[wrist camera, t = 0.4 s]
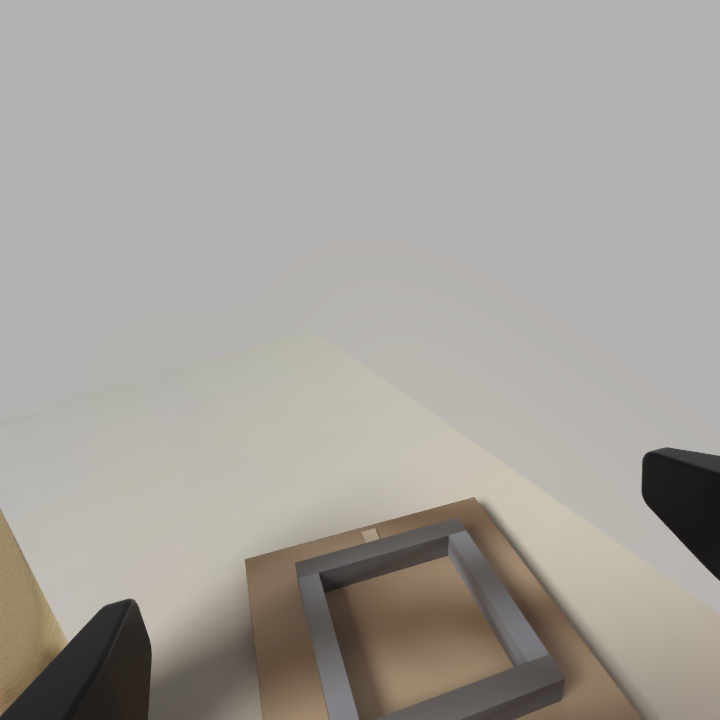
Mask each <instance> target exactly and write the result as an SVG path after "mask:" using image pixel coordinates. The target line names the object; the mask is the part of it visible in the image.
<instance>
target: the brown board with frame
mask: <svg viewBox="0 0 720 720" xmlns="http://www.w3.org/2000/svg"><path fill="white" fill-rule="evenodd" d="M245 565H246V574H247V582H248V591H249V600H250V609H251V618H252V627H253V635H254V644H255V653H256V662H257V671H258V680H259V688H260V697H261V706H262V715H263V720H642V718H641V717H640V716H639V714H638V713H637V712H636V710H635V709H634V708H633V706H632V705H631V704H630V702H629V701H628V700H627V698H626V697H625V696H624V694H623V693H622V692H621V690H620V689H619V688H618V686H617V685H616V684H615V683H614V681H613V680H612V679H611V677H610V676H609V675H608V673H607V672H606V671H605V669H604V668H603V667H602V665H601V664H600V663H599V661H598V660H597V659H596V657H595V656H594V655H593V653H592V652H591V651H590V650H589V648H588V647H587V646H586V644H585V643H584V642H583V640H582V639H581V638H580V636H579V635H578V634H577V632H576V631H575V630H574V628H573V627H572V626H571V624H570V623H569V622H568V620H567V619H566V618H565V616H564V615H563V614H562V613H561V611H560V610H559V609H558V607H557V606H556V605H555V603H554V602H553V601H552V599H551V598H550V597H549V595H548V594H547V593H546V591H545V590H544V589H543V587H542V586H541V585H540V583H539V582H538V581H537V580H536V578H535V577H534V576H533V574H532V573H531V572H530V570H529V569H528V568H527V566H526V565H525V564H524V562H523V561H522V560H521V558H520V557H519V556H518V554H517V553H516V552H515V550H514V549H513V548H512V546H511V545H510V544H509V543H508V541H507V540H506V539H505V537H504V536H503V535H502V533H501V532H500V531H499V529H498V528H497V527H496V525H495V524H494V523H493V521H492V520H491V519H490V517H489V516H488V515H487V513H486V512H485V511H484V510H483V508H482V507H481V506H480V504H479V503H478V502H477V500H476V499H475V498H474V497H473V498H470V499H466V500H462V501H459V502H455V503H451V504H448V505H444V506H440V507H436V508H433V509H429V510H425V511H422V512H418V513H414V514H411V515H407V516H403V517H400V518H396V519H392V520H389V521H385V522H381V523H378V524H374V525H370V526H366V527H363V528H359V529H355V530H352V531H348V532H344V533H341V534H337V535H333V536H330V537H326V538H322V539H319V540H315V541H311V542H308V543H304V544H300V545H296V546H293V547H289V548H285V549H282V550H278V551H274V552H271V553H267V554H263V555H260V556H256V557H252V558H249V559H245Z"/></svg>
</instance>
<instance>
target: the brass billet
mask: <svg viewBox="0 0 720 720" xmlns="http://www.w3.org/2000/svg"><path fill="white" fill-rule="evenodd" d="M67 644H68V642H67V640H66V638H65V636H64V634H63V632H62V630H61V628H60V626H59V624H58V622H57V620H56V618H55V616H54V614H53V612H52V610H51V608H50V606H49V604H48V602H47V600H46V598H45V596H44V594H43V592H42V590H41V588H40V586H39V584H38V583H37V581H36V579H35V577H34V575H33V573H32V571H31V569H30V567H29V565H28V563H27V561H26V559H25V557H24V555H23V553H22V551H21V549H20V547H19V545H18V543H17V541H16V539H15V537H14V535H13V533H12V531H11V529H10V527H9V525H8V523H7V521H6V519H5V517H4V515H3V513H2V511H1V509H0V716H1V715H2V714H3V713H4V711H5V710H6V709H7V708H8V707H9V706H10V705H11V704H12V703H13V702H14V701H15V700H16V699H17V698H18V697H19V696H20V694H21V693H22V692H23V691H24V690H25V689H26V688H27V687H28V686H29V685H30V684H31V683H32V682H33V681H34V680H35V678H36V677H37V676H38V675H39V674H40V673H41V672H42V671H43V670H44V669H45V668H46V667H47V666H48V665H49V664H50V663H51V661H52V660H53V659H54V658H55V657H56V656H57V655H58V654H59V653H60V652H61V651H62V650H63V649H64V648H65V647H66V646H67Z"/></svg>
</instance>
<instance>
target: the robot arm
mask: <svg viewBox="0 0 720 720" xmlns="http://www.w3.org/2000/svg"><path fill="white" fill-rule="evenodd" d="M642 496H643V498H644V501H645V502H646V504H647V505H648V506H649V508H650V509H651V510H652V511H653V512H654V513H655V514H656V515H657V516H658V517H659V518H660V519H661V520H662V521H663V522H664V524H665V525H666V526H667V527H668V528H669V529H670V530H671V531H672V532H673V533H674V534H675V535H676V536H677V537H678V538H679V540H680V541H681V542H682V543H683V544H684V545H685V546H686V547H687V548H688V549H689V550H690V551H691V552H692V553H693V554H694V555H695V556H696V558H698V560H699V561H700V562H701V563H702V564H703V565H704V566H705V567H706V568H707V569H708V570H709V571H710V572H711V573H712V574H713V575H714V576H715V577H716V578H717V579H718V580H719V581H720V456H717V455H711V454H705V453H699V452H692V451H686V450H680V449H674V448H661V449H657V450H654V451H650V452H648V453H646V454H645V456H644V457H643V461H642ZM151 660H152V652H151V644H150V639H149V636H148V633H147V630H146V627H145V624H144V622H143V619H142V616H141V613H140V610H139V607H138V604H137V603H136V601H135V600H133V599H126V600H122V601H119V602H115V603H112V604H108V605H106V606H104V607H103V608H102V609H100V610H99V611H98V613H97V614H96V615H95V616H94V617H93V618H92V619H91V620H90V621H89V622H88V623H87V624H86V625H85V626H84V627H83V628H82V630H81V631H80V632H79V633H78V634H77V635H76V636H75V637H74V638H73V639H72V640H71V641H70V642H69V643H68V644H67V646H66V647H65V648H64V649H63V650H62V651H61V652H60V653H59V654H58V655H57V656H56V657H55V658H54V659H53V660H52V661H51V663H50V664H49V665H48V666H47V667H46V668H45V669H44V670H43V671H42V672H41V673H40V674H39V675H38V676H37V677H36V678H35V680H34V681H33V682H32V683H31V684H30V685H29V686H28V687H27V688H26V689H25V690H24V691H23V692H22V693H21V694H20V696H19V697H18V698H17V699H16V700H15V701H14V702H13V703H12V704H11V705H10V706H9V707H8V708H7V709H6V710H5V711H4V713H3V714H2V715H1V716H0V720H148V708H149V692H150V676H151Z"/></svg>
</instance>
